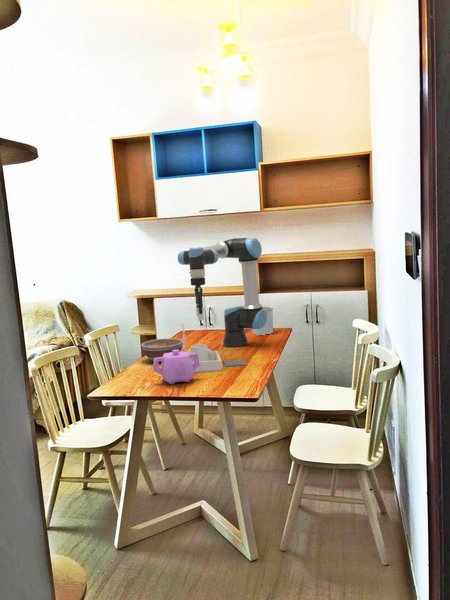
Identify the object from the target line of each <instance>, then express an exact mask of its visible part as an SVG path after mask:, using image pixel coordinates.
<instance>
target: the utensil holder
mask: <svg viewBox="0 0 450 600" xmlns="http://www.w3.org/2000/svg"><path fill="white" fill-rule="evenodd" d="M262 309H263V310H265V311H266V313H267V320H266V323H265V325H264V327H263V328H261V329H251V330H252V335H253V334H257V335H256V336H258V335H263V336H266V335H265V334H270V335H272V334H271V333H273V334H274V317H273V309H274V308H273V306H270V305H262Z"/></svg>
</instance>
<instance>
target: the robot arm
mask: <svg viewBox="0 0 450 600" xmlns="http://www.w3.org/2000/svg"><path fill="white" fill-rule="evenodd" d="M262 252H263V249H262V244H261V242H260V241H259V240H258V239H257V238H256V237H250V236H249V237H241V238H236V237H235V238H230V239H226V240H223V241H218V242H217V243H215V244H213V245H208V246H204V247H202V246H197V247H190V248H189V249H188V250H181V251H179V252H178V254H177V261H178V263H179V264H180V265H184V266H187V265H189V271H188V273H189V274H190V275H189V277H190V279H189V280H190V286H193V287H194V295H195V307H196V309H195V310H196V317H197V321H204V319H205V318H204V304H203V303H204V302H203V288H202V287H201V286H204V285H206V278H205V276H206V271H205V265H213V264H216V263H217V262H218V261H219V259H226V258H228V259H238V263H239V264H240V265H241V273H242V275H241V276H242V286H243V287H242V288H243V297H244V304H243V306H242V305H241V306H233V307H228V308H225V309H224V312H223V317H224V332H225V334H224V337H223V341H222V345H223V347H226V348H237V347H238V348H239V347H244V346H247V345H248V344H249V342H248V338H247V336H246V332H245V329H249V330H250V329H251V330H252V329H261V328H263V327H264V325H265V323H266V320H267V313H266V311H265V310H263V309H262V306H263V305H262V304H261V303H260V295H259V282H258V269H257V262H258V261H259V258H260V257H261V256H262Z"/></svg>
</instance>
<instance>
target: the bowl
mask: <svg viewBox="0 0 450 600" xmlns="http://www.w3.org/2000/svg"><path fill="white" fill-rule="evenodd" d="M140 345H141V346H140V347H141V349H142V352H143V354H144V355H145V357H147V358H148V360H150V361H152V362H154V358H158V357H163V354H165V353H169V352H172V350H179V352H180V351H182V349H183V346H184V345H183V339H182V340H181V339H179V338H169V337H168V338H158V339H157V338H156V339H151V340H147V341H143V342H142V343H141V344H140ZM159 362H160V363H162V361H159Z"/></svg>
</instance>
